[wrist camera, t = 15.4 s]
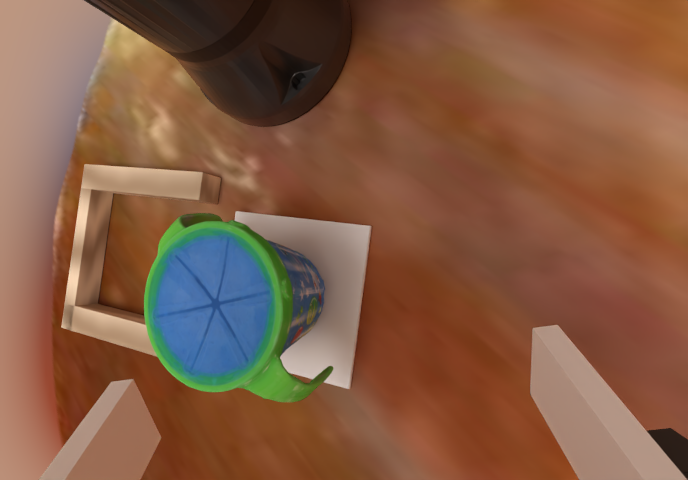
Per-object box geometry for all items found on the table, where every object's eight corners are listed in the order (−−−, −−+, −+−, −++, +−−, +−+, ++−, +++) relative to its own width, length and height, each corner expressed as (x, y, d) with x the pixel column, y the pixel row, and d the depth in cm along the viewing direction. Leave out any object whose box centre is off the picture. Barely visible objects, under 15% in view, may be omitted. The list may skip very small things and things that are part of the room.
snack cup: (389, 340, 30) (339, 374, 21) (290, 408, 33) (205, 465, 23) (286, 185, 34) (206, 154, 25) (205, 256, 37) (105, 253, 28)
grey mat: (238, 211, 36) (235, 211, 36) (371, 226, 32) (370, 225, 31) (219, 351, 36) (216, 352, 36) (350, 387, 31) (348, 389, 31)
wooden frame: (106, 169, 43) (84, 164, 41) (221, 178, 37) (202, 172, 35) (85, 324, 43) (61, 327, 41) (196, 356, 37) (176, 362, 35)
